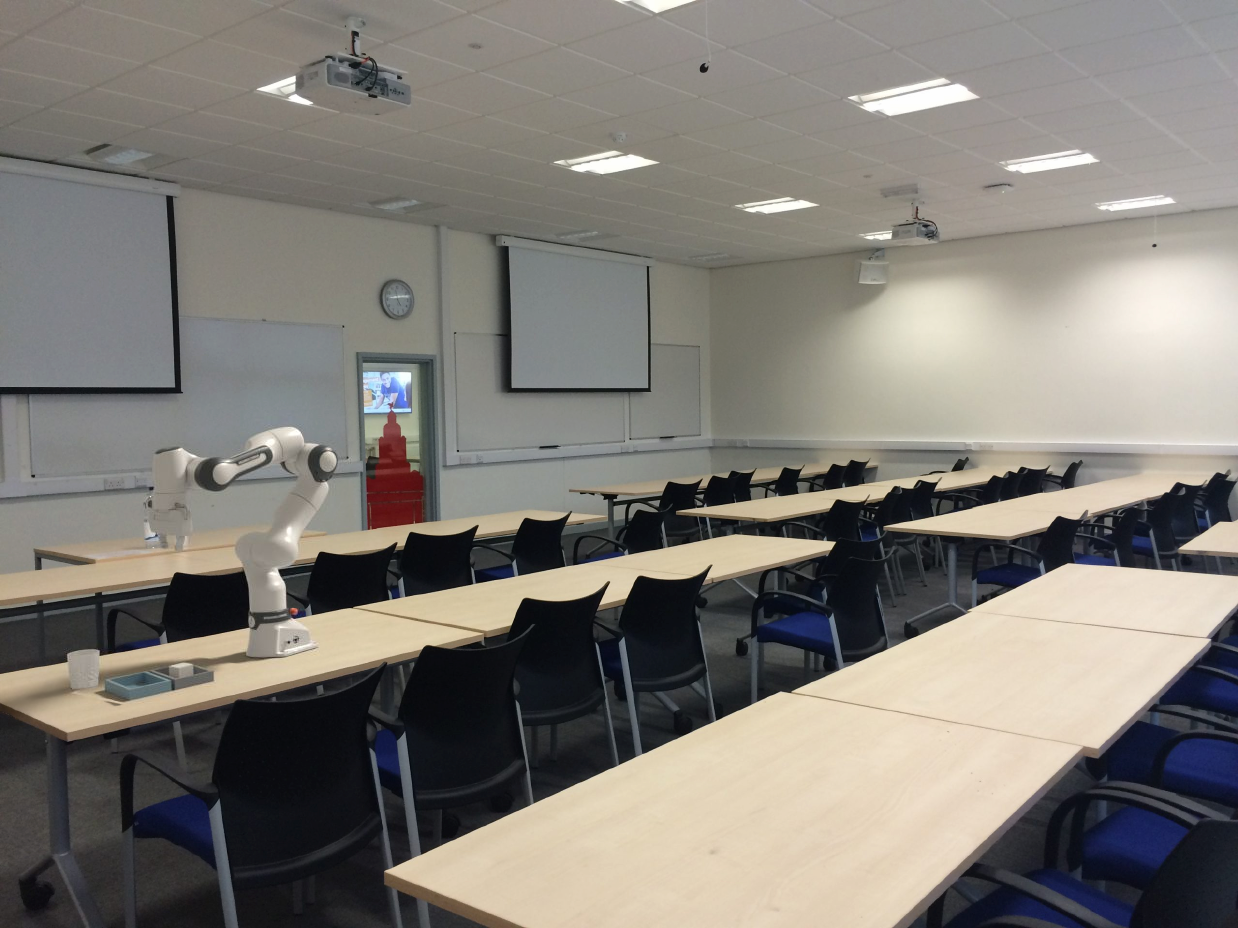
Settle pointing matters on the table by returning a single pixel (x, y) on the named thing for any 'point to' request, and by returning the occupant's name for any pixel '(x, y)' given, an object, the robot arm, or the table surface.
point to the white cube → (181, 670)
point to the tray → (197, 678)
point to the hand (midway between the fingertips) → (171, 549)
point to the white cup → (83, 668)
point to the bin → (137, 685)
